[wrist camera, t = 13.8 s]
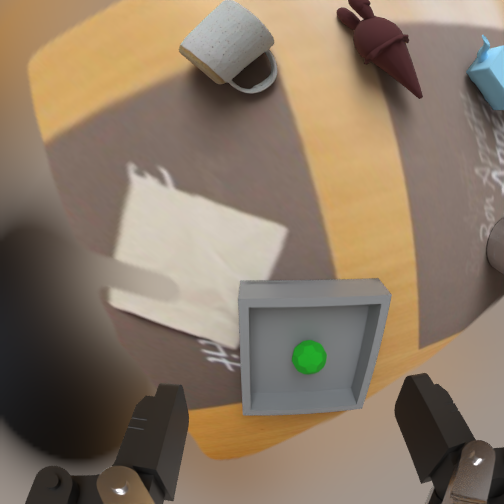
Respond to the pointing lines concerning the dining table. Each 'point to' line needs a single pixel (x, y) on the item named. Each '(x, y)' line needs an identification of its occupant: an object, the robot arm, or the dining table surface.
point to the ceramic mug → (229, 45)
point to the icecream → (381, 44)
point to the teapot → (489, 74)
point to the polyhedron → (309, 357)
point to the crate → (309, 328)
